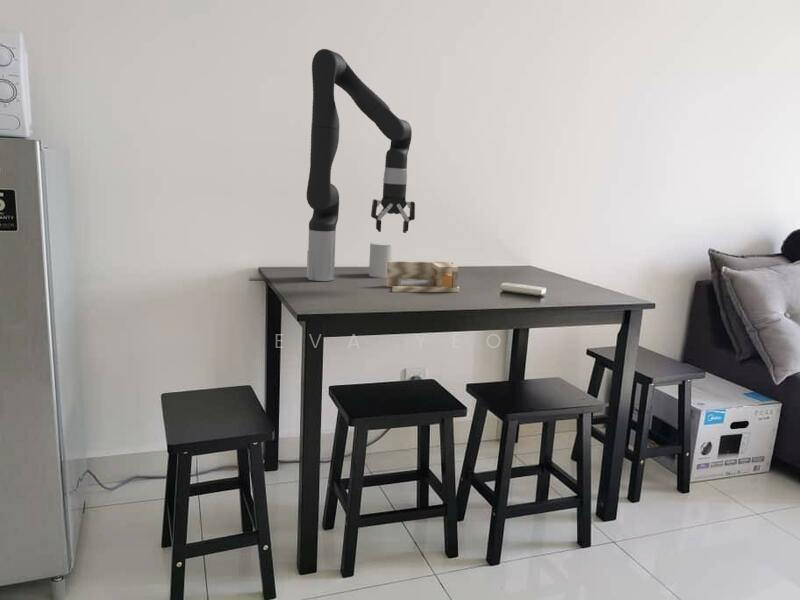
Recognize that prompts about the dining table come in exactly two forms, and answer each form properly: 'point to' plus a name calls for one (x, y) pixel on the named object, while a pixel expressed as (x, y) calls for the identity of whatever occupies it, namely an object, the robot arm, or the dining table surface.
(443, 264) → the bridge channel
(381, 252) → the cup
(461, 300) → the dining table surface
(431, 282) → the grey long rectangular bar
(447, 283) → the block
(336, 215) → the robot arm
